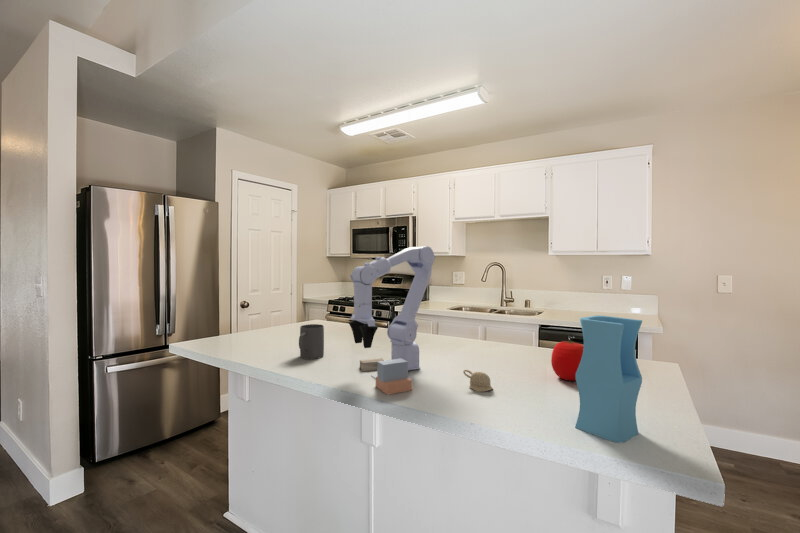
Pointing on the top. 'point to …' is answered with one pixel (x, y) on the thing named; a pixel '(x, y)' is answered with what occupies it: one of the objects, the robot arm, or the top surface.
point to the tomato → (566, 359)
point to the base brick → (394, 385)
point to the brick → (369, 364)
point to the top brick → (392, 370)
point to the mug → (311, 341)
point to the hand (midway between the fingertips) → (362, 345)
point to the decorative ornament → (479, 381)
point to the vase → (609, 378)
